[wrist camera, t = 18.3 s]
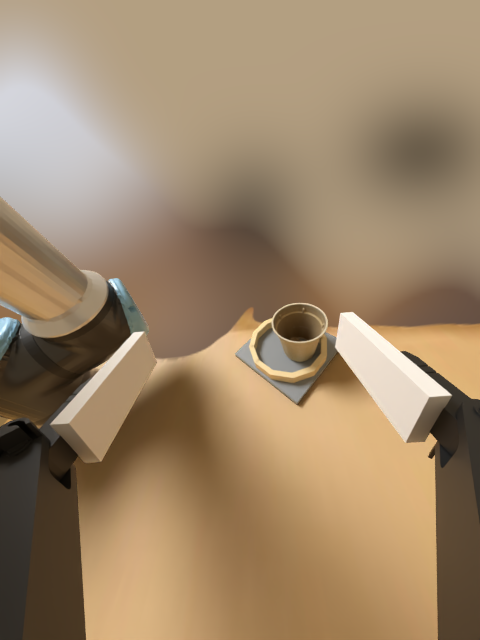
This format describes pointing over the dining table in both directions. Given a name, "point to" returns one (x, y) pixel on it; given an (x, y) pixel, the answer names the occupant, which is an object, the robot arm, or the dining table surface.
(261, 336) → the collar plate
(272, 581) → the dining table surface
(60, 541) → the robot arm
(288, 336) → the flower pot
